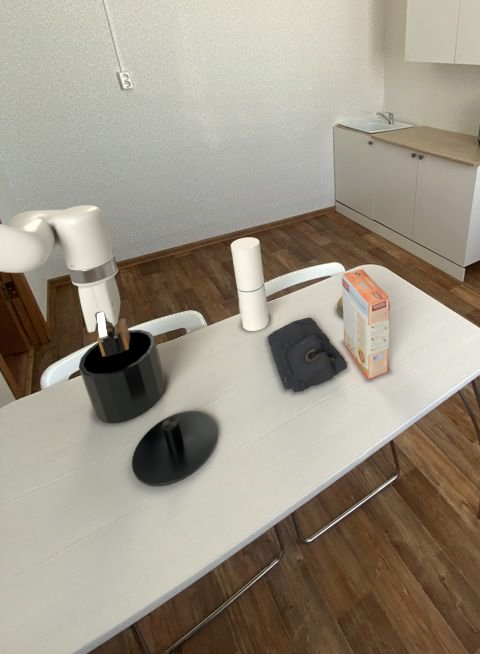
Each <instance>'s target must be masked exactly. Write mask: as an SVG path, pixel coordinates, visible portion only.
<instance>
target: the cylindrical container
mask: <svg viewBox="0 0 480 654" xmlns="http://www.w3.org/2000/svg"><path fill="white" fill-rule="evenodd" d="M230 249H231V256H232V263H233V269H234V277H235V282H236V290H237V297H238V303H239V309H240V316H241V323H242V327H243V329H245V330H246V331H248V332H255V331H259V330H263V329H265V328H266V327H267V326H268V325H269V322H270V319H269V309H268V300H267V294H266V286H265V285H266V284H265V277H264V269H263V260H262V251H261V244H260V240H259V239H258V238H256V237H251V236H250V237H247V236H246V237H241V238H238V239H235V240H233V241H232V243H231V244H230Z"/></svg>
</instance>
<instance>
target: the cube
mask: <svg viewBox="0 0 480 654" xmlns="http://www.w3.org/2000/svg"><path fill="white" fill-rule="evenodd" d="M109 323H110V322H109ZM109 323H108V322H107V324H109ZM116 329H117V333H118V335H119V334H120V337H121V340H122V344H123V347H124V350H128V349H129V341H130V334H129V330H130V329H129V327H128V323H127V319H126V318H121V319H118V323H117V324H116ZM108 331H109V332H110V331H112V327H111V328H108ZM112 332H113V331H112ZM96 339H97V343H99V346H100V350H101V353H102V356H105V353H104V350H103V346H102V343H101V340H100V337H99V331H98V332H97V336H96Z"/></svg>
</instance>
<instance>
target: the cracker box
mask: <svg viewBox="0 0 480 654" xmlns="http://www.w3.org/2000/svg"><path fill="white" fill-rule="evenodd" d="M341 280H342V281H341V283H342V287H341V288H342V296H343V317H342V319H343V343H344V345H345V347H346V348H347V350H348V352H349V353H350V354H351V356H352V358H353V359H354V361H355V362H356V364H357V365H358V367H359V368H360V370H361V371H362V373H363V375H364V377H365V379H367V380H371V379H373V378H376V377H379V376H381V375H384V374H386V373H389V361H390V360H389V358H390V357H389V356H390V355H389V353H390V316H391V315H390V314H391V313H390V310H391V308H390V307H391V298H390V296H389V295H388V294H387V293H386V292H385V291H384V290H383V289H382V288H381V286H379V285H378V284H377V282H375V281H374V280H373V279H372V278H371V276H369V274H367V272H366V271H365V270H364V268H363V269H357V270H353V271H349V272H345V273H342V274H341Z"/></svg>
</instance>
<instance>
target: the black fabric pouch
mask: <svg viewBox="0 0 480 654" xmlns="http://www.w3.org/2000/svg"><path fill="white" fill-rule="evenodd" d="M267 340H268V344H269V347H270V350H271V354H272V355H271V356H272V357H273V362H274V364H275V367H276V368H277V372H278V375H279V378H280V381H281V383H282V386H283V388H284V389H286V390H290V389H291V390H292V391H293V392H294V393H300V392H304V391H305V390H307V389H309V388H311V387H314V386H318V385H319V386H320V385H321V384H325V382H328V381H330V380H332V379H333V377H335V376H337V375H338V374H339V373H341V372H342V371H344V370H346V369H347V362H346V360H345V358H344V357H343V355H341V353H340V351H338V349H337V347H335V346H334V345H333V344H332V343H331V342H330V339H329V338H328V335H326V334H325V332H323V330H322V328H320V326H319V325H318V324H317V322H316V321H315V320H314V318H312V317H309V316H308V317H304V318H300V319H297V320H293V321H290V323H288V324H285V325H283V326H282V327H280V328H278V329H276V330H274V331H273V332H271V333H269V334H268V335H267ZM332 358H333V359H334V360H332Z"/></svg>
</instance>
